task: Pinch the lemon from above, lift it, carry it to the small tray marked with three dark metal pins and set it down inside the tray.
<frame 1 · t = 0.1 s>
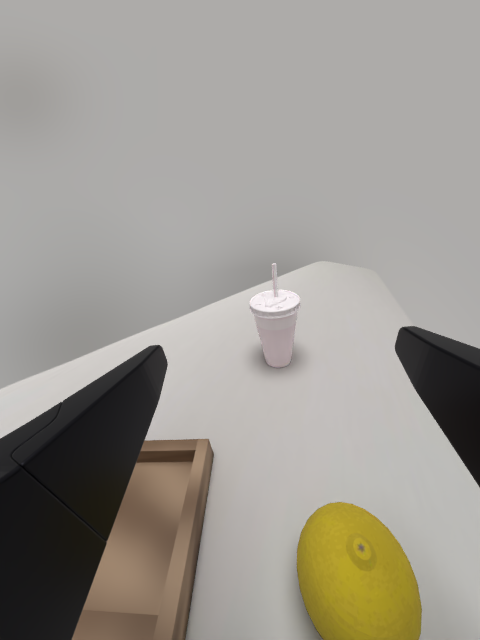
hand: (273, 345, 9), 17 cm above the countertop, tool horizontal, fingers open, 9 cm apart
lemon: (343, 595, 14), on the countertop
tray: (136, 525, 18), on the countertop
smoothie: (278, 360, 33), on the countertop
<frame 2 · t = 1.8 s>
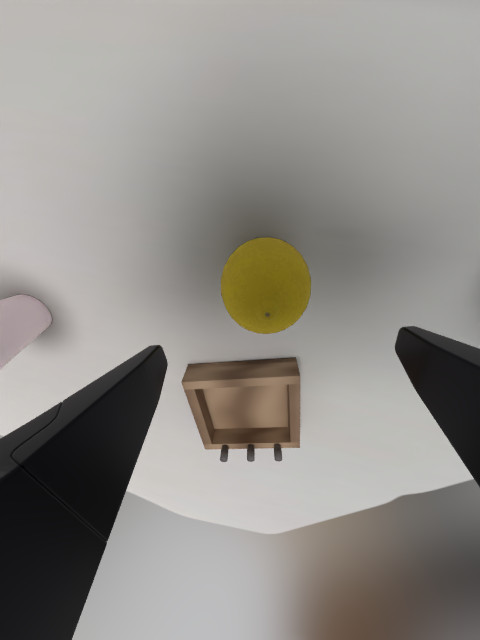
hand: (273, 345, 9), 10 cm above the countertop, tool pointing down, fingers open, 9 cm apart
lemon: (262, 265, 18), on the countertop
tray: (246, 398, 25), on the countertop
smoothie: (33, 311, 21), on the countertop
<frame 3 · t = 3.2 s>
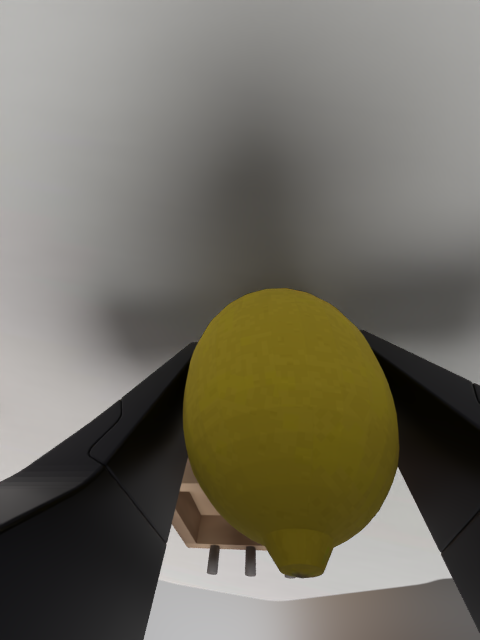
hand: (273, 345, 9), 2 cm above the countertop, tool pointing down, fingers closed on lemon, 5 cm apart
lemon: (270, 317, 11), on the countertop, touching gripper
tray: (244, 482, 18), on the countertop
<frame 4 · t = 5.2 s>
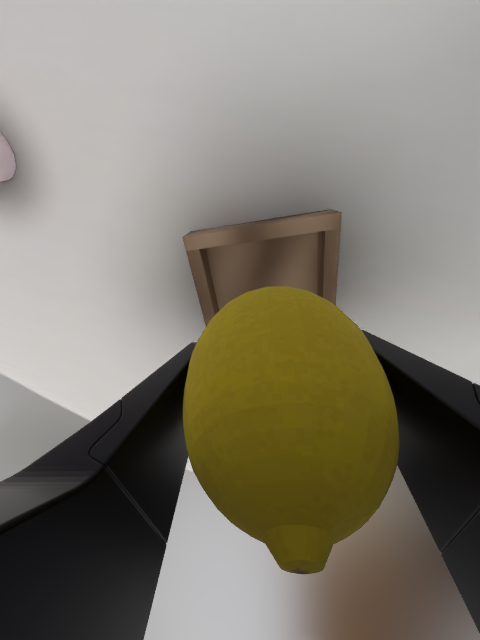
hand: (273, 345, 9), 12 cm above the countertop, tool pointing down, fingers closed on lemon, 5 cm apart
lemon: (270, 315, 11), point 10 cm above the countertop, touching gripper
tray: (264, 286, 20), on the countertop
when the fingers open (4 cm above the countertop, at t = 7.3 s): lemon drops 1 cm, resting on tray.
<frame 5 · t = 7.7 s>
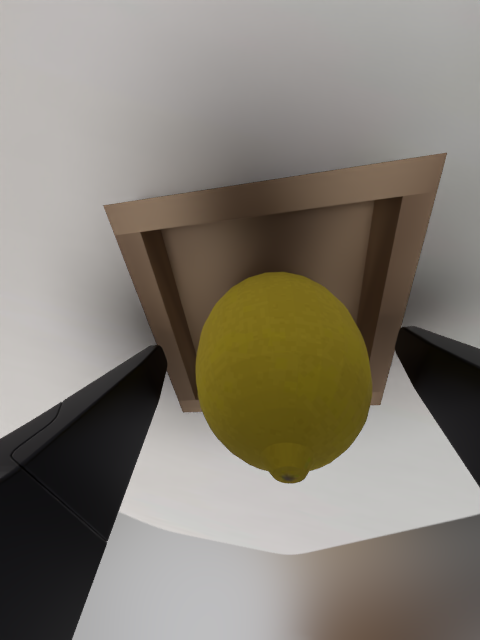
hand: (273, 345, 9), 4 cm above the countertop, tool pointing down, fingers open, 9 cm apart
lemon: (271, 303, 12), resting on tray
tray: (267, 301, 12), on the countertop
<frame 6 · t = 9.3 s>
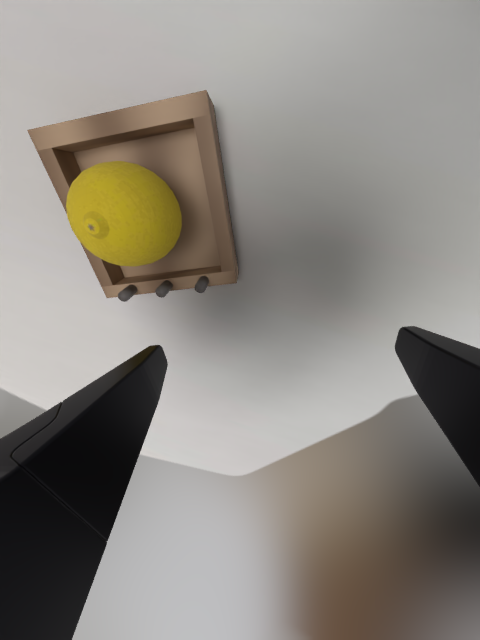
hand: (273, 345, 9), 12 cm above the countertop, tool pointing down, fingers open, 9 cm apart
lemon: (158, 211, 17), resting on tray
tray: (159, 213, 17), on the countertop
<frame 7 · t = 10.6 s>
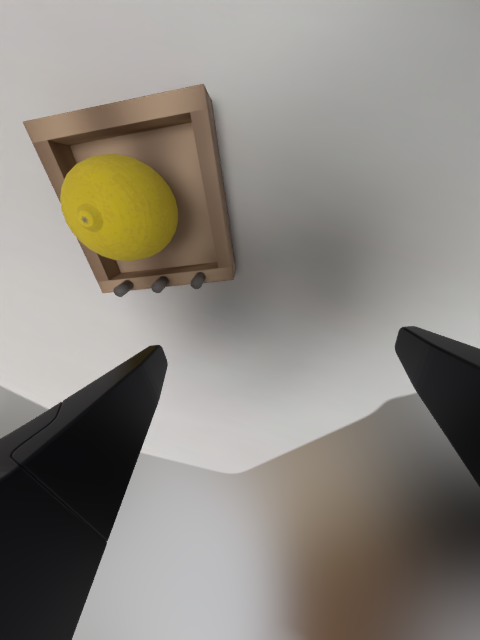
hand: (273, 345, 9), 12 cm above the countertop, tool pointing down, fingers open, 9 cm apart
lemon: (155, 207, 17), resting on tray
tray: (156, 208, 17), on the countertop
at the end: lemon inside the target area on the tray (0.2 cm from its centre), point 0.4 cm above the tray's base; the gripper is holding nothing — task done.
